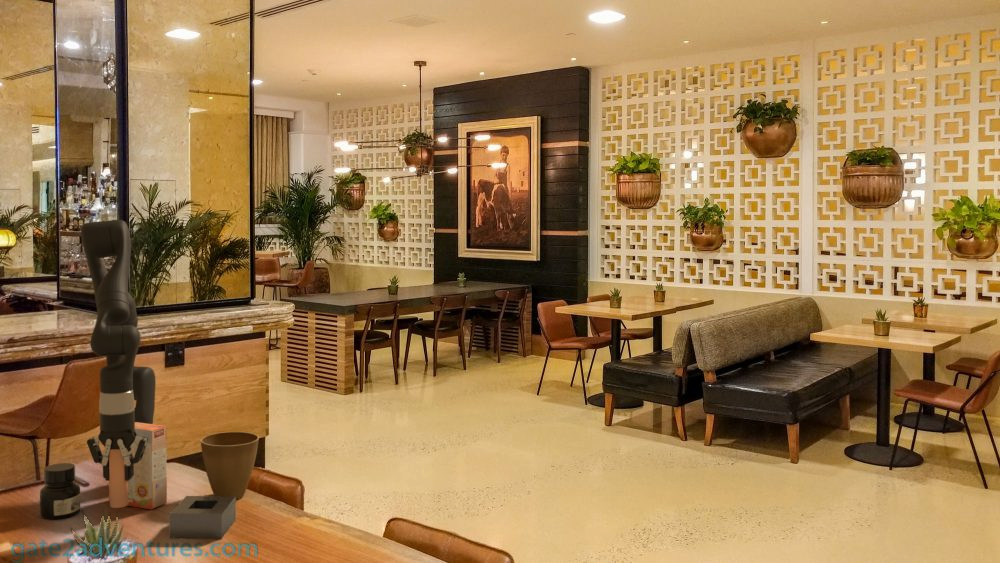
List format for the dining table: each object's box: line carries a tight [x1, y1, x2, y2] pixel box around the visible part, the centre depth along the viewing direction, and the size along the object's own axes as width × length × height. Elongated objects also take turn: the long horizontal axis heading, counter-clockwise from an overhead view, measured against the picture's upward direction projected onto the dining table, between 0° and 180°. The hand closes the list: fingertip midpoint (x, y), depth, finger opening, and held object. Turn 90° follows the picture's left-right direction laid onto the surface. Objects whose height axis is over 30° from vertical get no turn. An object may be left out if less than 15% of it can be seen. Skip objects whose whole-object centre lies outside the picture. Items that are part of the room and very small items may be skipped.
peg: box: [108, 449, 128, 509], centre depth 198 cm, size 4×4×14 cm
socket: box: [169, 495, 237, 540], centre depth 200 cm, size 12×12×6 cm
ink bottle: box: [39, 462, 81, 520], centre depth 207 cm, size 10×9×12 cm
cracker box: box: [108, 422, 168, 510], centre depth 215 cm, size 14×6×21 cm, turn 71°
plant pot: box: [200, 431, 260, 500], centre depth 223 cm, size 15×15×16 cm
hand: (118, 479), depth 198 cm, fingers closed on peg, 4 cm apart
